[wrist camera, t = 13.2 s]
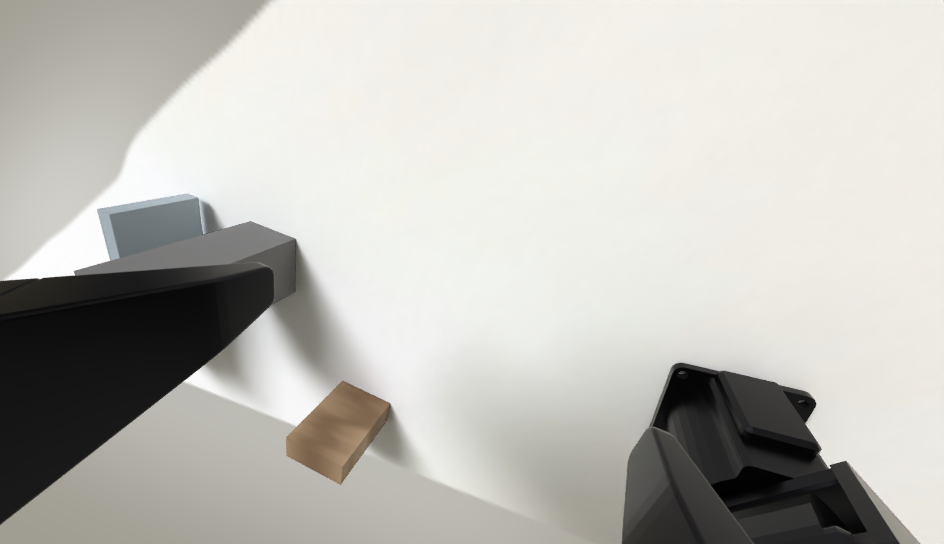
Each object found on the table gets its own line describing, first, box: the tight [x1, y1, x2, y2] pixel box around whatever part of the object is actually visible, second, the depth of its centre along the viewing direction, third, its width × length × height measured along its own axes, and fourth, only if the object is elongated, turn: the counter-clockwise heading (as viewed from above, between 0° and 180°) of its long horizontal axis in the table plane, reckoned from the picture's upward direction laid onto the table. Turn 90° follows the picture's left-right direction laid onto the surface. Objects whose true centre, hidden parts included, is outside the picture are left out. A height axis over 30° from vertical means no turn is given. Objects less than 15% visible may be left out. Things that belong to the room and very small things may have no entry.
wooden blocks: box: [286, 381, 390, 484], centre depth 29 cm, size 23×2×6 cm, turn 76°
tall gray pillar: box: [74, 221, 295, 305], centre depth 22 cm, size 4×4×10 cm
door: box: [97, 194, 203, 261], centre depth 27 cm, size 14×3×6 cm, turn 166°
